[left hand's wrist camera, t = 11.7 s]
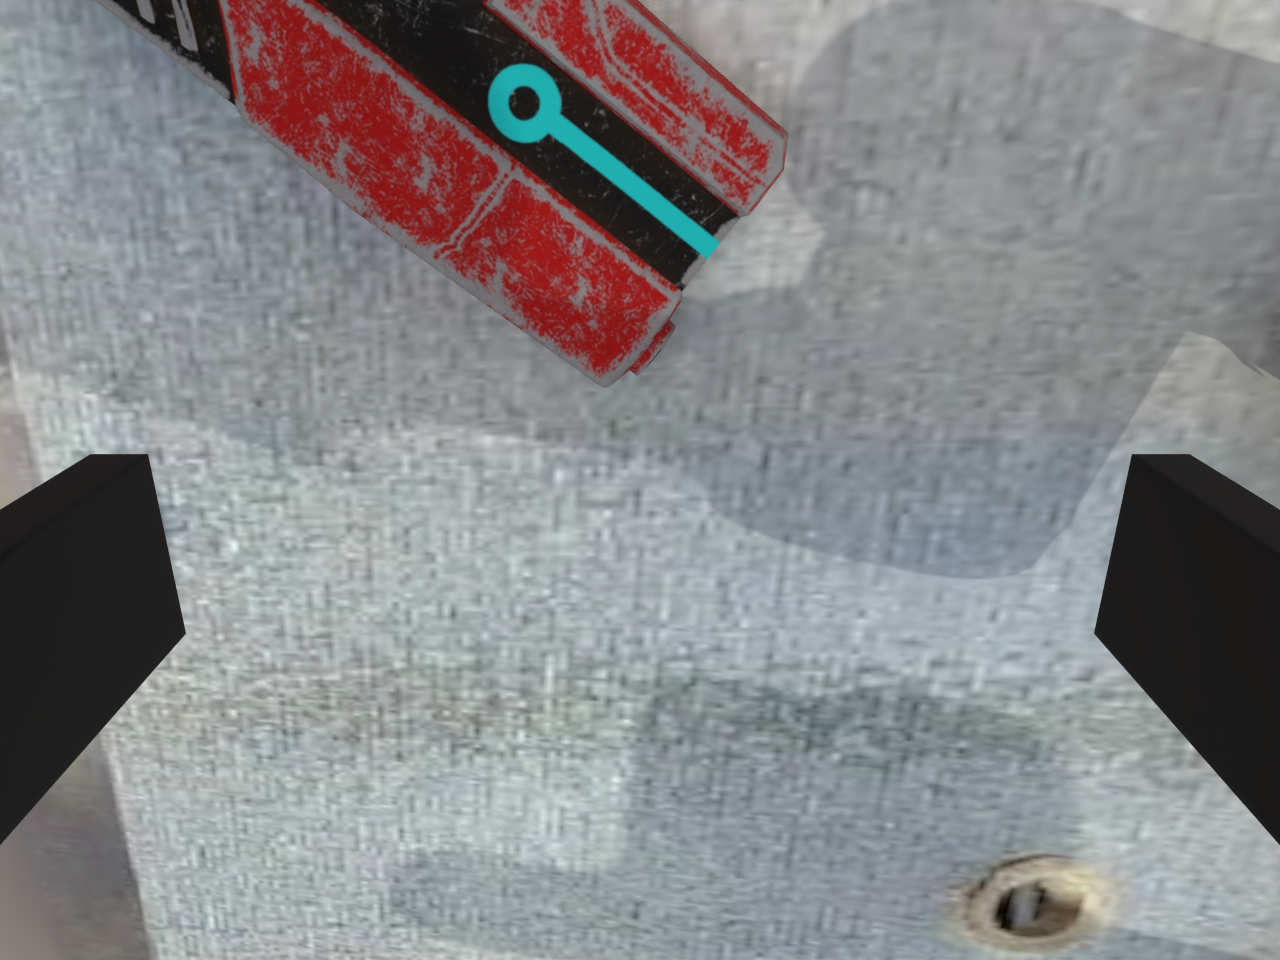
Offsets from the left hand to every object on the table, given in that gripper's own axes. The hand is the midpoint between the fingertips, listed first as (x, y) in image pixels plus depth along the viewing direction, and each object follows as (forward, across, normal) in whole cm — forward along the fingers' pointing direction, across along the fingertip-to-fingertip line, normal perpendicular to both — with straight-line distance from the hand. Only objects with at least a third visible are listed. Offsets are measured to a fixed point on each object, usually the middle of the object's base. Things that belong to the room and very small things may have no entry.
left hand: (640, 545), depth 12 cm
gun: (+32, -8, +10) cm, 34 cm away
